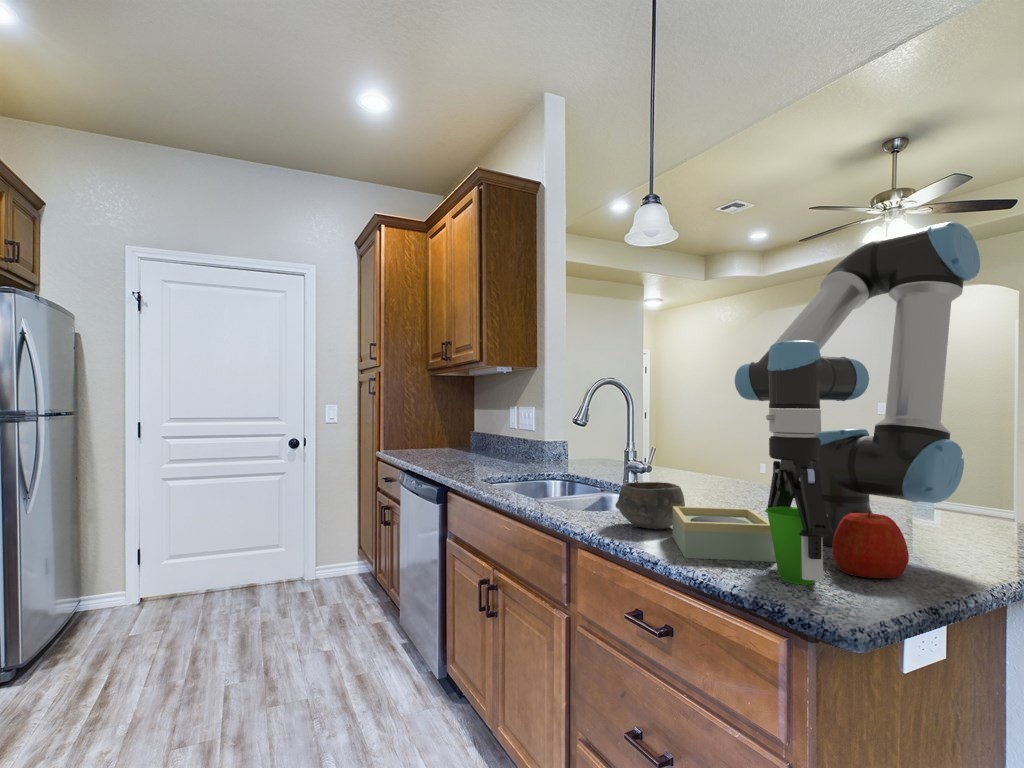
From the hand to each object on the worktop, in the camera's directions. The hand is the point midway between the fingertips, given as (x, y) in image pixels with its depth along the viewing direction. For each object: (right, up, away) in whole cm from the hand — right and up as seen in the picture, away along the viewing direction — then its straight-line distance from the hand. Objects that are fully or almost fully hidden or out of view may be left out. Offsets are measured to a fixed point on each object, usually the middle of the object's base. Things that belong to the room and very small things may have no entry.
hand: (795, 566), depth 87 cm
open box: (-5, -3, +19) cm, 20 cm away
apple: (+14, -3, +3) cm, 14 cm away
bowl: (-14, -4, +37) cm, 40 cm away
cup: (0, -2, 0) cm, 2 cm away
